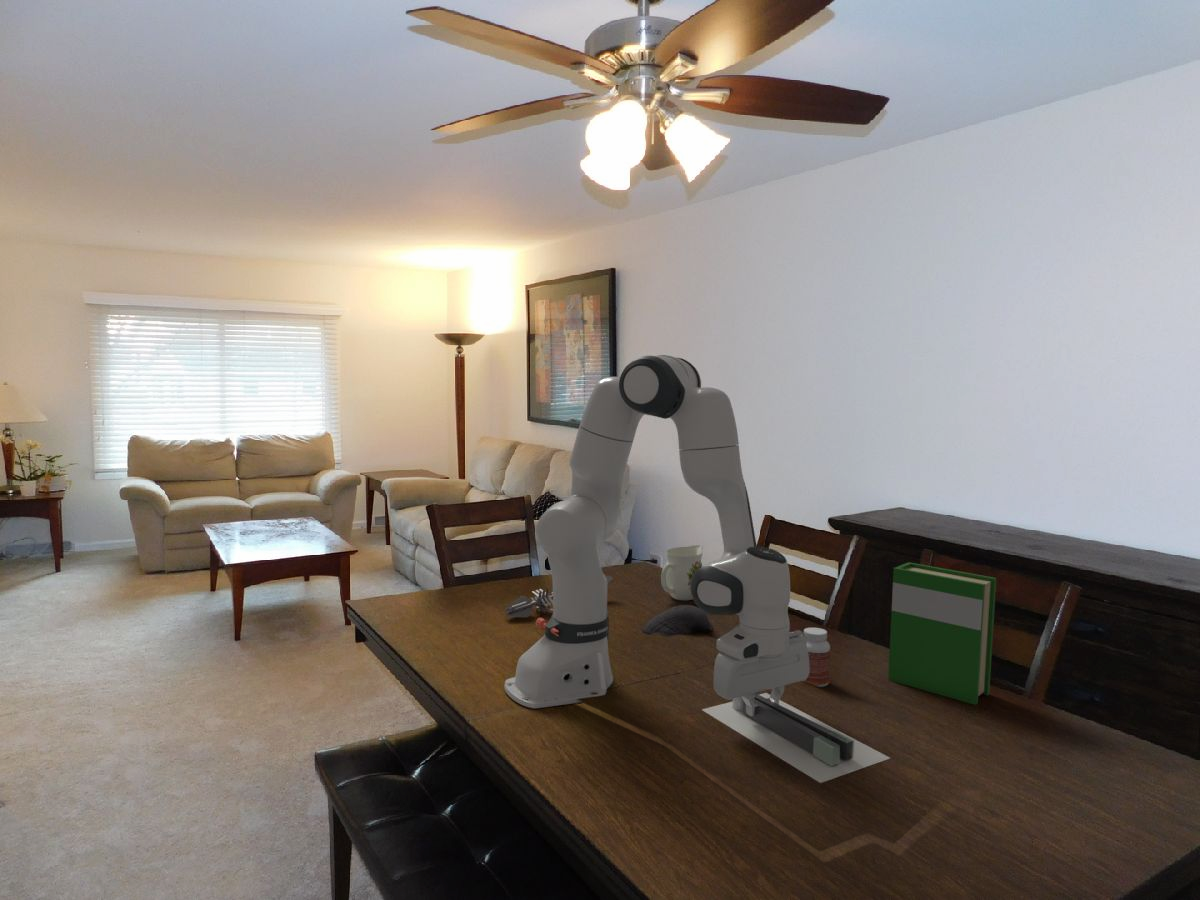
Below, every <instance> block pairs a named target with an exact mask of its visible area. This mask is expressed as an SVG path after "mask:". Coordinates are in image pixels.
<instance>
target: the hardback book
mask: <svg viewBox="0 0 1200 900" xmlns="http://www.w3.org/2000/svg"><path fill="white" fill-rule="evenodd" d="M996 589H997V577H994V576H988V575H987V576H986V575H981V574H976V573H970V572H965V571H959V570H954V569H949V568H943V567H942V568H941V567H938V566H937V567H936V566H931V565H925V564H921V563H920V564H919V563H914V562H910V561H909V562H908V561H907V562H906V563H903V564H901V565H898V566H896V567H893V575H892V596H891V616H890V617H891V618H890V636H889V637H890V638H889V640H890V641H889V657H888V659H889V660H888V676H887V677H888V678H887V679H888V681H891V682H896V683H898V684H902V685H905V686H908V687H911V688H915V689H919V690H922V691H925V692H929V693H933V694H937V695H938V696H939V695H940V696H943V697H945V698H946V697H947V698H949V699H950V698H951V699H954V700H957V701H960V702H964V703H968V704H971V705H974V706H977V705H978V704H979V696H981V695H985V696H989V695H990V687H991V685H990V684H991V673H992V672H991V670H992V654H993V653H992V652H993V637H994V622H995V610H996V609H995V607H996V591H997V590H996Z"/></svg>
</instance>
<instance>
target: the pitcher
mask: <svg viewBox="0 0 1200 900" xmlns="http://www.w3.org/2000/svg"><path fill="white" fill-rule="evenodd" d="M703 548H704V546H703V545H701V544H699V545H698V544H697V545H690V546H680V547H679V546H678V547H673V548H670V549H667V550H666V551H665V552H666V558H667V561H666V563H665V564H664V566H663V567H662V570H661V574H660V584H661V587H662V589H663V590H664V591H665V592H666V593H669V594H670V596H671V598H672V599H674V600H676V601H677V600H678V601H690V600H694V599H693V597H692V594H691V588H690V585H691V579H692V576H693V574H694V573H695V571H696V570H698V569H699V568H701V567H702V566H703V563H702V559H703V558H702V556H703V554H704V553H703Z"/></svg>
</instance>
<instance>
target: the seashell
mask: <svg viewBox="0 0 1200 900" xmlns="http://www.w3.org/2000/svg"><path fill="white" fill-rule="evenodd" d="M707 614H708V613H706V612H704V611H703V610H702V609H700V608H699V607H698V606H695V605H690V604H681V605H675V606H673V607H669V608H668V609H666V610H664V611H663V612H660V613H658V614H657V615H655V617H653V618H651V619H650V620H649V621H648V622H647V623H646V624H645V625H644V626H643V627H642V628H641V632H642V633H644V634H645V635H649V636H651V635H653V634H657V635H661V636H664V637H674V636H678V635H684V634H692V633H697V632H699V633H702V634H705V633H709V632H712V631H713V630H714V628H715V627H714V625H713V624H712V623H711V620H710V618H709V617H708V615H707Z"/></svg>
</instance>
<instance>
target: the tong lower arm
mask: <svg viewBox="0 0 1200 900" xmlns="http://www.w3.org/2000/svg"><path fill="white" fill-rule="evenodd" d="M731 700H732V701H731V702H732V708H733V709H734V710H736V711H741V712H743V713H744V714H745V715H747V716H749V717H750V718H752V719H754V720H756V721H757V722H759V723H761V724H763V725H764V726H766V727H768V728H769V729H771V730H773V731H775V732H776V733H778V734H780V735H782V736H783V737H785V738H787V739H788V740H790V741H792V742H794V743H795V744H797V745H799V746H801V747H802V748H804V749H806V750H807V751H809V752H811V753H813V756H815V757H817V758H819V759H820V760H822V761H824V762H825V763H827V764H829V765H831V766H833V765H836V764H839V761H840V745H838V744H836V743H835V742H833V741H831V740H829V739H827V738H825V737H824V736H822V735H820V734H818V733H816V732H814V731H813V730H811V729H809V728H807V727H805V726H803V725H802V724H800V723H798V722H796V721H794V720H792V719H790V718H789V717H787V716H785V715H783V714H781V713H779V712H778V711H776V710H774V709H772V708H770V707H768V706H767V705H765V704H763V703H761V702H759V701H757V700H756V699H754V698H753V699H752V700H753V702H754V704H756V705H758V706H759V708H758V714H757V715H753V716H750V715H748V714H747V713H746V704H745V702H744V700H743V698H742V697H738V698H734V699H731Z"/></svg>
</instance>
